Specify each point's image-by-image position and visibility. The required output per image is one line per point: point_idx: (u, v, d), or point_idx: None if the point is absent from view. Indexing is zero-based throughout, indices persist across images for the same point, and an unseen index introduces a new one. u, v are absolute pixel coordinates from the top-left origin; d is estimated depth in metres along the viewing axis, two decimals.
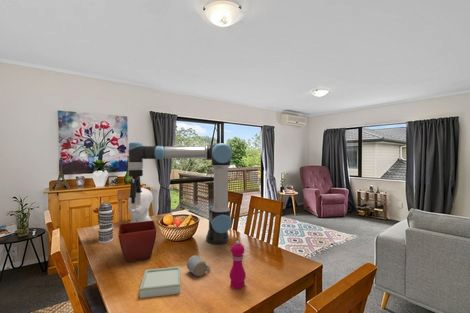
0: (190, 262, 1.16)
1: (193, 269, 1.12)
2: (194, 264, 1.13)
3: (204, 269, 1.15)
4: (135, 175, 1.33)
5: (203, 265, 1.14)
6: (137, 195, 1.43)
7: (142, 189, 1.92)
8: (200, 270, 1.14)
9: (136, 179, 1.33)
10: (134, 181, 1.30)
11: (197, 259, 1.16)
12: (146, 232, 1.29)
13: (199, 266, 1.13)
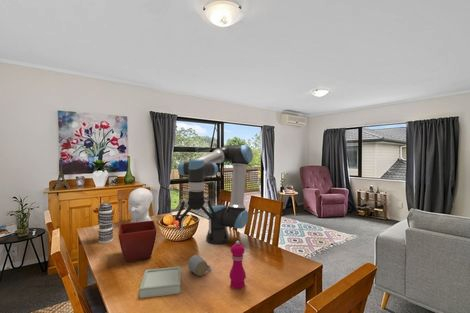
0: (191, 262, 1.16)
1: (194, 269, 1.13)
2: (195, 264, 1.14)
3: (205, 269, 1.15)
4: None
5: (204, 265, 1.15)
6: (209, 222, 1.20)
7: (142, 189, 1.92)
8: (201, 270, 1.14)
9: (188, 202, 1.16)
10: None
11: (198, 259, 1.16)
12: (146, 232, 1.29)
13: (200, 266, 1.13)
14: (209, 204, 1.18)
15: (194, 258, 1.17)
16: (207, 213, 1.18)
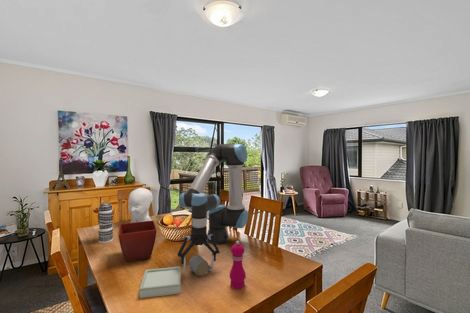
0: (192, 262, 1.16)
1: (195, 269, 1.13)
2: (196, 264, 1.14)
3: (206, 269, 1.15)
4: (191, 232, 1.16)
5: (205, 265, 1.15)
6: None
7: (142, 189, 1.92)
8: (202, 270, 1.14)
9: (191, 237, 1.15)
10: (184, 239, 1.15)
11: (199, 259, 1.16)
12: (146, 232, 1.29)
13: (201, 266, 1.13)
14: (212, 239, 1.17)
15: (195, 258, 1.17)
16: (210, 248, 1.17)
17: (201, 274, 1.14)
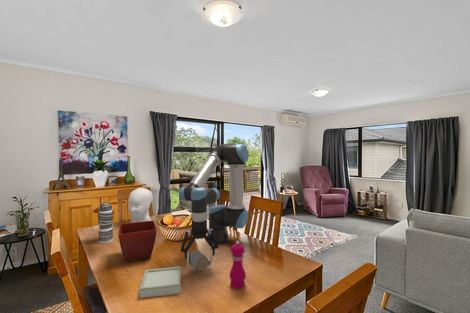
0: (192, 257, 1.17)
1: (195, 264, 1.13)
2: (196, 259, 1.14)
3: (206, 264, 1.16)
4: None
5: (205, 260, 1.15)
6: (210, 251, 1.20)
7: (142, 189, 1.92)
8: (202, 265, 1.15)
9: (191, 231, 1.16)
10: (185, 234, 1.16)
11: (199, 254, 1.17)
12: (146, 232, 1.29)
13: (201, 261, 1.14)
14: (212, 234, 1.18)
15: (195, 253, 1.18)
16: (209, 243, 1.18)
17: (201, 269, 1.14)
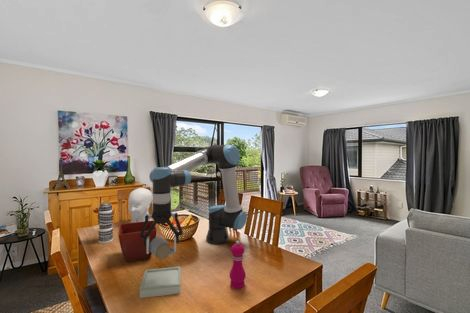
0: (152, 244, 1.04)
1: (155, 251, 1.01)
2: (156, 246, 1.02)
3: (168, 251, 1.04)
4: None
5: (166, 247, 1.03)
6: (174, 239, 1.07)
7: (142, 189, 1.92)
8: (163, 252, 1.02)
9: (152, 215, 1.04)
10: (145, 218, 1.04)
11: (160, 241, 1.05)
12: (146, 232, 1.29)
13: (162, 248, 1.02)
14: (176, 218, 1.06)
15: (156, 240, 1.06)
16: (172, 229, 1.06)
17: (161, 257, 1.02)
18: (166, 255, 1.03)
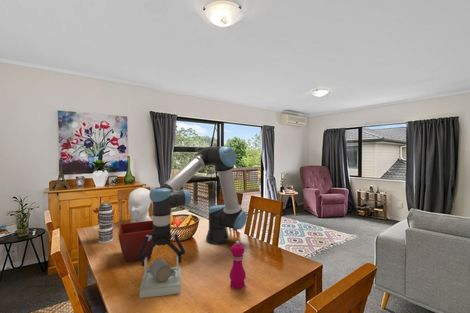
0: (153, 266, 1.05)
1: (155, 274, 1.02)
2: (156, 269, 1.02)
3: (168, 274, 1.04)
4: None
5: (167, 270, 1.03)
6: None
7: (142, 189, 1.92)
8: (163, 275, 1.03)
9: (152, 237, 1.04)
10: (145, 239, 1.04)
11: (160, 263, 1.05)
12: (146, 232, 1.29)
13: (162, 271, 1.02)
14: (176, 239, 1.06)
15: (156, 262, 1.06)
16: (174, 249, 1.06)
17: (162, 280, 1.02)
18: (166, 278, 1.04)
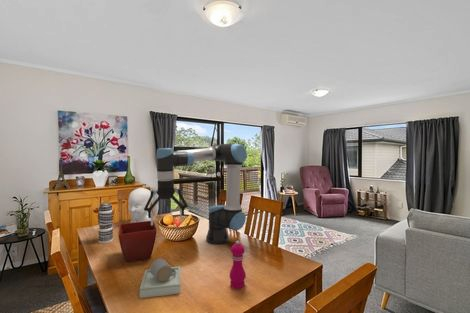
0: (153, 266, 1.05)
1: (156, 274, 1.02)
2: (157, 268, 1.03)
3: (169, 274, 1.04)
4: None
5: (167, 269, 1.04)
6: (180, 211, 1.18)
7: (142, 189, 1.92)
8: (164, 275, 1.03)
9: (157, 191, 1.14)
10: None
11: (161, 263, 1.05)
12: (146, 232, 1.29)
13: (162, 271, 1.02)
14: (179, 193, 1.16)
15: (157, 262, 1.06)
16: (177, 202, 1.16)
17: (162, 280, 1.03)
18: (167, 277, 1.04)
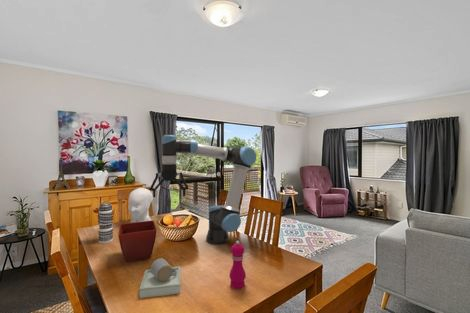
0: (154, 266, 1.05)
1: (156, 274, 1.02)
2: (158, 268, 1.03)
3: (169, 273, 1.04)
4: (162, 169, 1.28)
5: (168, 269, 1.04)
6: (181, 192, 1.31)
7: (142, 189, 1.92)
8: (164, 275, 1.03)
9: (162, 173, 1.28)
10: None
11: (162, 263, 1.05)
12: (146, 232, 1.29)
13: (163, 270, 1.02)
14: (181, 176, 1.30)
15: (157, 262, 1.06)
16: (179, 184, 1.29)
17: (163, 279, 1.03)
18: (167, 277, 1.04)
